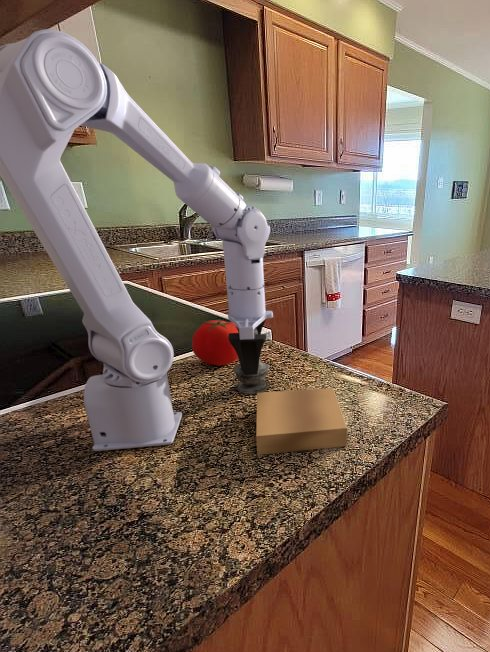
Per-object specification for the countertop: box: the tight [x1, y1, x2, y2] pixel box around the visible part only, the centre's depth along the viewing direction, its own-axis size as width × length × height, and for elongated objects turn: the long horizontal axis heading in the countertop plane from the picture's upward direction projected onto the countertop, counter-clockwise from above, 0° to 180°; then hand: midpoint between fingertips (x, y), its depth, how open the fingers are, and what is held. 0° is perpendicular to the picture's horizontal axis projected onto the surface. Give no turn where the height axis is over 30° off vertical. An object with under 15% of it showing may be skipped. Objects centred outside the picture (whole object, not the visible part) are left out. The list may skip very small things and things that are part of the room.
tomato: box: [191, 319, 239, 367], centre depth 77 cm, size 9×10×8 cm
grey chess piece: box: [232, 328, 270, 395], centre depth 67 cm, size 6×6×12 cm
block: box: [255, 387, 348, 456], centre depth 58 cm, size 12×12×3 cm
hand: (251, 364), depth 68 cm, fingers open, 7 cm apart
